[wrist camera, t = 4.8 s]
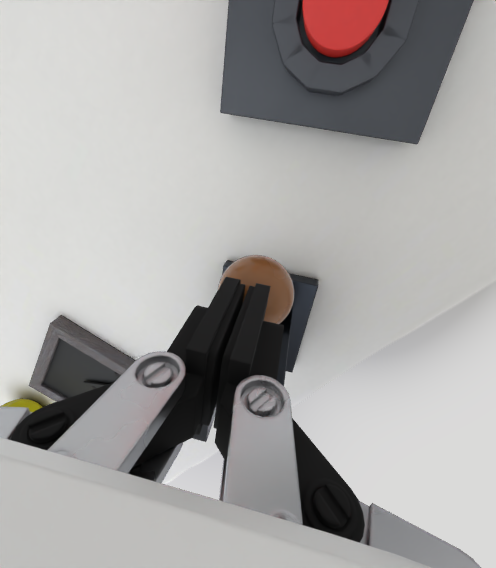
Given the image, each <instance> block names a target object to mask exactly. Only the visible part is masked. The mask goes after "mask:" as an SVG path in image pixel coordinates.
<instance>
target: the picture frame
mask: <svg viewBox="0 0 496 568" xmlns="http://www.w3.org/2000/svg"><path fill="white" fill-rule="evenodd" d="M134 362H135V360H133V359H132V358H130V357H128V356H127V355H125V354H123V353H122V352H120V351H119V350H117V349H115V348H114V347H112V346H110V345H109V344H107V343H106V342H104V341H102V340H101V339H99V338H97V337H96V336H94V335H92V334H91V333H89V332H88V331H86V330H84V329H83V328H81V327H79V326H78V325H76V324H75V323H73V322H71V321H70V320H68V319H66V318H65V317H63V316H62V315H61V316H59V317H58V318H57V319H55V320H54V321H53V322H51V323H50V325H49V328H48V331H47V334H46V337H45V340H44V343H43V346H42V349H41V352H40V355H39V357H38V360H37V363H36V366H35V369H34V372H33V375H32V378H31V381H30V384H29V386H30V387H32V388H34V389H35V390H37V391H39V392H41V393H42V394H44V395H46V396H48V397H49V398H51V399H53V400H55V401H56V402H58V401H61V400H64V399H67V398H70V397H73V396H75V395H78V394H81V393H84V392H87V391H90V390H93V389H96V388H99V387H101V386H104V385H107V384H110V383H113V382H115V381H116V380H117V379H118V378H119V377H120V376H121V375H122V374H123V373H124V372H125V371H126V370H127V369H128V368H129V367H130V366H131V365H132V364H133V363H134Z"/></svg>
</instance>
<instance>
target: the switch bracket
mask: <svg viewBox="0 0 496 568" xmlns="http://www.w3.org/2000/svg"><path fill="white" fill-rule="evenodd" d="M232 263H233V261H228V260H227V261H226V263H225V264H224V266H223V273H224V272H225V270H226V269H227V268H228V267H229V266H230V265H231V264H232ZM222 275H223V274H222ZM289 275H290V277H291V279H292V282H293V286H294V301H293V305H292V308H291V310H290V312H289V314H288V315H287V317H286V318H285V319H284V320H283V321H282V322H281V323H280V324H281V325H284V331H283V338H282V346H281V353H280V360H279V368H278V375H277V381H278V382H279V383H280V384H282V385H283V386H284V380H285V372H286V371H288V372H292V371H293V368H294V365H295V361H296V358H297V355H298V351H299V348H300V345H301V341H302V338H303V335H304V331H305V328H306V325H307V321H308V318H309V315H310V311H311V308H312V305H313V301H314V298H315V295H316V291H317V288H318V280H317V279H313V278H308V277H303V276H299V275H294V274H289ZM215 412H216V407H215V410H214V413H213V416H212V419H211V422H210V425H209V426H205V425H203V426H202V429H201V432H200V435H194V437H192V438H194V439H197V440H201V441H205V442H206V441H207V438H208V435H209V432H210V429H211V426H212V423H213V420H214V417H215Z"/></svg>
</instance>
